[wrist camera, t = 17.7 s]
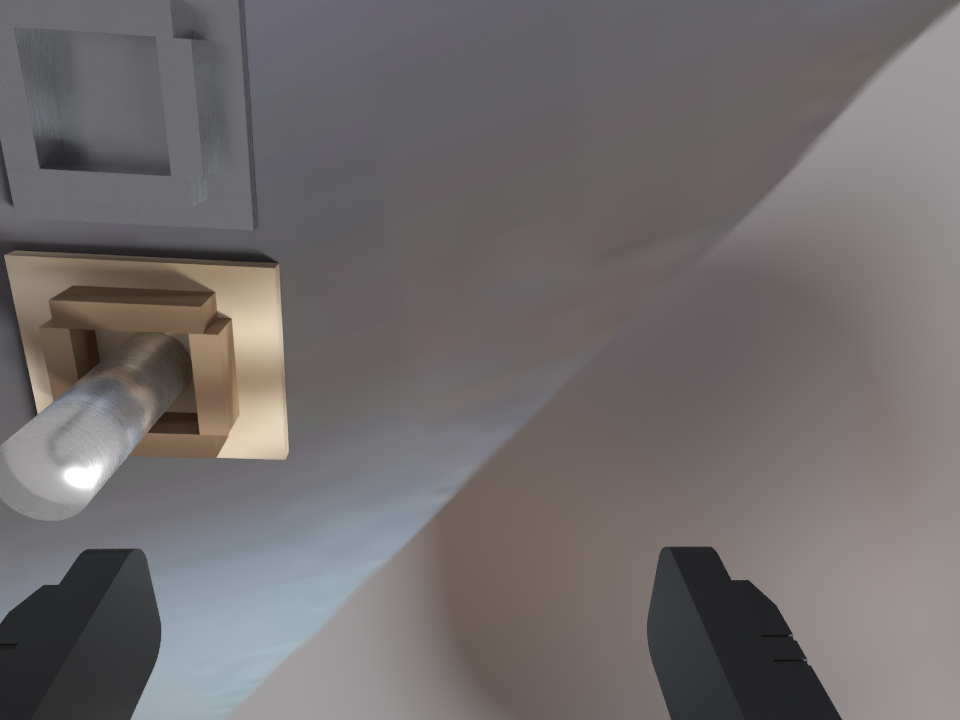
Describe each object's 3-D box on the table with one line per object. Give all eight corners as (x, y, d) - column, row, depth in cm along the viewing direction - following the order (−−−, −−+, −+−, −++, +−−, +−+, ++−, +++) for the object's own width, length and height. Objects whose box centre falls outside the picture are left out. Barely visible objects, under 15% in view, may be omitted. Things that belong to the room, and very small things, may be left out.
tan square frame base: (14, 250, 37) (-26, 268, 34) (278, 263, 38) (263, 281, 35) (54, 443, 42) (22, 475, 39) (288, 451, 43) (276, 482, 40)
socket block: (-24, -47, 32) (-77, -59, 29) (242, -27, 33) (219, -36, 29) (26, 214, 36) (-14, 229, 33) (258, 226, 37) (240, 241, 34)
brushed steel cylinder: (115, 329, 38) (-21, 434, 27) (189, 333, 38) (84, 438, 27) (124, 394, 40) (-1, 518, 29) (195, 397, 40) (98, 522, 29)
